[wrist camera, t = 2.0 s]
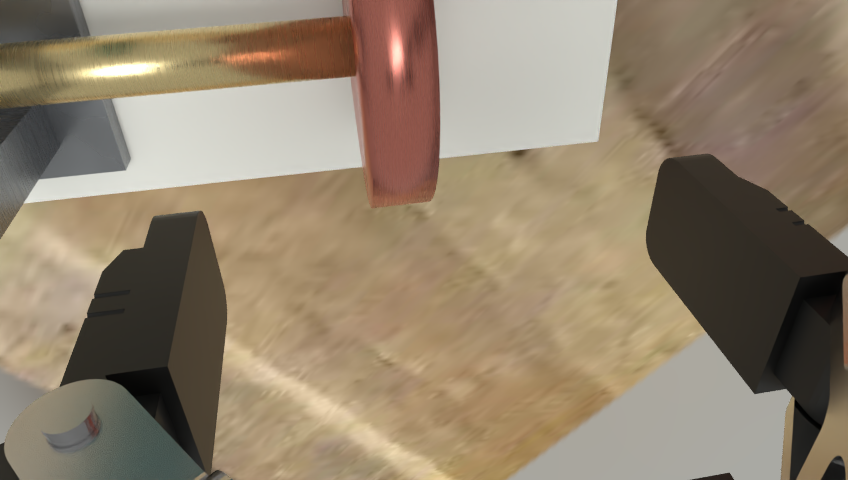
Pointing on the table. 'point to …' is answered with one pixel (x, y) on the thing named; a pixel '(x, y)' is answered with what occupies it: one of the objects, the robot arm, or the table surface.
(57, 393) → the robot arm
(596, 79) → the base board
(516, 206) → the table surface
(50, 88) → the copper disc with handle
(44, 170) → the grey square frame
